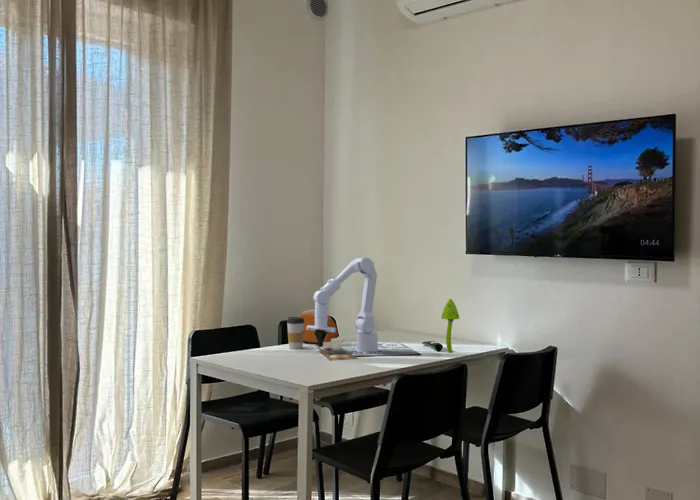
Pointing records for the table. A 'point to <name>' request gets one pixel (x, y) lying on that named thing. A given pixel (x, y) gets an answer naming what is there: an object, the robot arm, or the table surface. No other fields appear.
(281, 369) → the table surface
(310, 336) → the orange toaster
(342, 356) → the coaster
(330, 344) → the cream tapered cylinder
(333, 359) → the board
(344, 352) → the socket
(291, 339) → the coffee cup
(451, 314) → the mushroom
